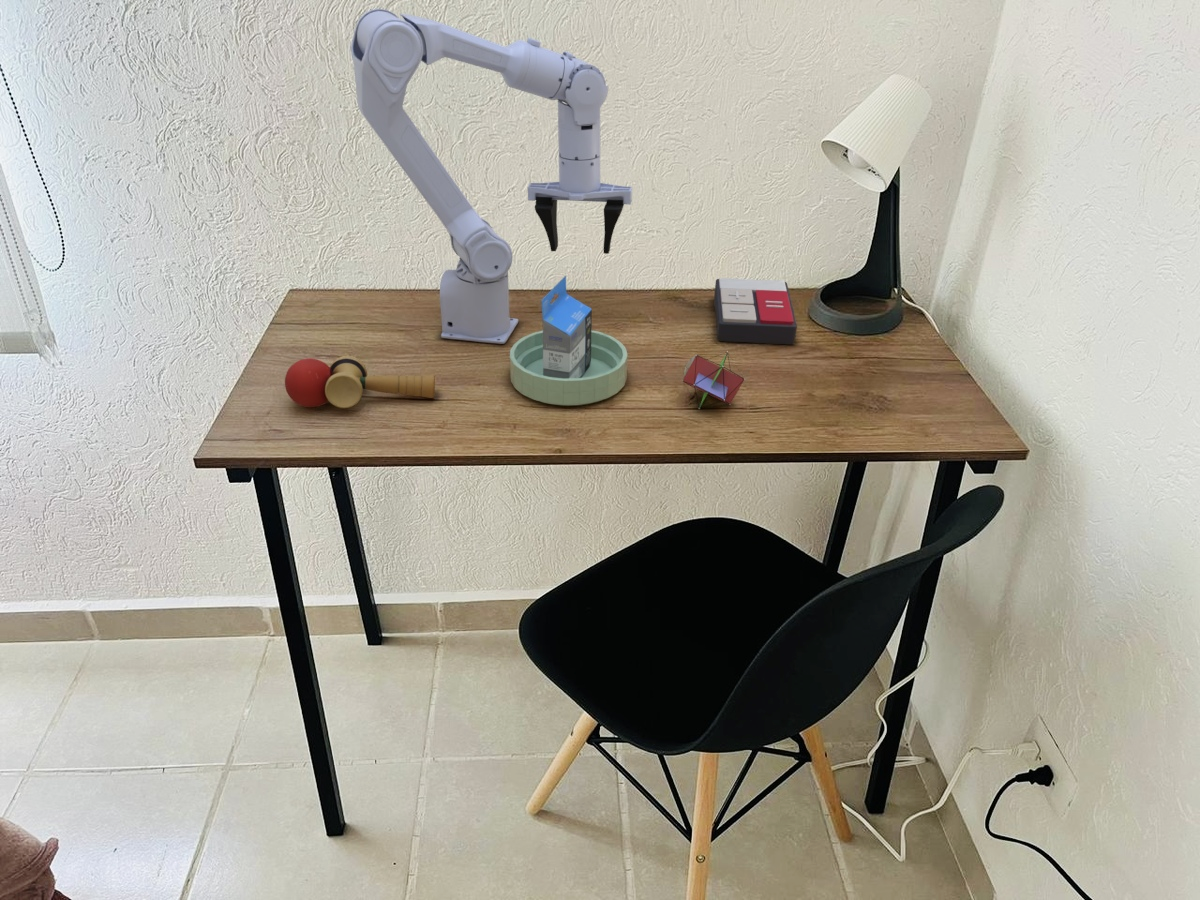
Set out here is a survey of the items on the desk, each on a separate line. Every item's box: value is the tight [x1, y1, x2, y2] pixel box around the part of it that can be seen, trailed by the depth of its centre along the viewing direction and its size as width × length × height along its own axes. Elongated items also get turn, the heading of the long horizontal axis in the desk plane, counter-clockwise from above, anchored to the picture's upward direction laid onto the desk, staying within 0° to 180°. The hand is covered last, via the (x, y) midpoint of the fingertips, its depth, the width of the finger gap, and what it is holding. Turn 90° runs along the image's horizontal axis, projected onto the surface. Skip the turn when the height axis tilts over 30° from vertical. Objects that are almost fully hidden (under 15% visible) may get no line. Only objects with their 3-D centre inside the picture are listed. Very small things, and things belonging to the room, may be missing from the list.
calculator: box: [713, 277, 798, 345], centre depth 136 cm, size 11×4×15 cm
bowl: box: [509, 329, 629, 407], centre depth 120 cm, size 15×15×4 cm
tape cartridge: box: [540, 275, 593, 378], centre depth 117 cm, size 9×4×12 cm, turn 162°
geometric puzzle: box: [681, 350, 746, 410], centre depth 115 cm, size 7×7×8 cm
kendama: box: [284, 355, 436, 409], centre depth 114 cm, size 8×6×18 cm
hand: (580, 250), depth 132 cm, fingers open, 7 cm apart
